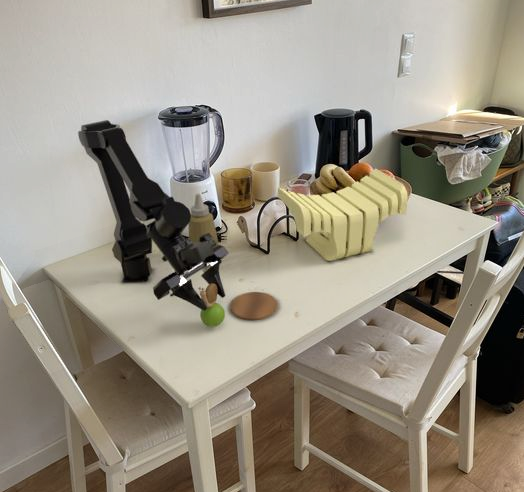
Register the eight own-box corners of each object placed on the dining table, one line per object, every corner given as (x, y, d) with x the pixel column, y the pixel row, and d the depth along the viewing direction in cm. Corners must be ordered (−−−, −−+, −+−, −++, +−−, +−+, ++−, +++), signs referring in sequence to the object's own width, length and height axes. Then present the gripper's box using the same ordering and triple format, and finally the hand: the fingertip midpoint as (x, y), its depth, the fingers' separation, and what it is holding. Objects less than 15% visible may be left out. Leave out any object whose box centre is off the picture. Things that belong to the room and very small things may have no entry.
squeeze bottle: (190, 249, 147) (182, 189, 137) (219, 247, 148) (213, 187, 138) (190, 263, 141) (181, 201, 131) (219, 261, 141) (213, 199, 131)
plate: (229, 321, 118) (229, 319, 118) (231, 294, 127) (231, 292, 127) (277, 319, 118) (277, 317, 117) (276, 293, 127) (276, 291, 127)
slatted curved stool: (303, 272, 134) (304, 209, 124) (279, 246, 147) (277, 187, 137) (401, 248, 143) (409, 187, 133) (370, 225, 155) (375, 168, 145)
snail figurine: (195, 331, 114) (188, 285, 107) (208, 315, 119) (203, 270, 112) (217, 336, 113) (212, 290, 106) (229, 319, 117) (225, 274, 110)
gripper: (154, 245, 99) (202, 311, 99) (218, 210, 111) (261, 270, 111) (133, 268, 107) (178, 329, 108) (195, 234, 119) (235, 289, 120)
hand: (214, 303), depth 111 cm, fingers closed on snail figurine, 5 cm apart
